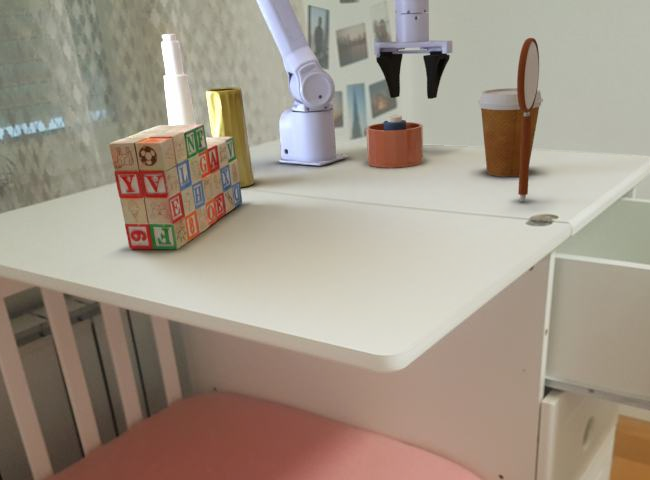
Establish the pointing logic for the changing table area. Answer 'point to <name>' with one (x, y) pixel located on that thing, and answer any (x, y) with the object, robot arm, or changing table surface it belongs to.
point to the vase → (231, 126)
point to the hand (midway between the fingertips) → (413, 97)
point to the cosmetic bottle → (176, 84)
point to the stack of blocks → (174, 183)
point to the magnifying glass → (526, 105)
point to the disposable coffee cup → (504, 129)
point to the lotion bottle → (394, 123)
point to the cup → (394, 146)
